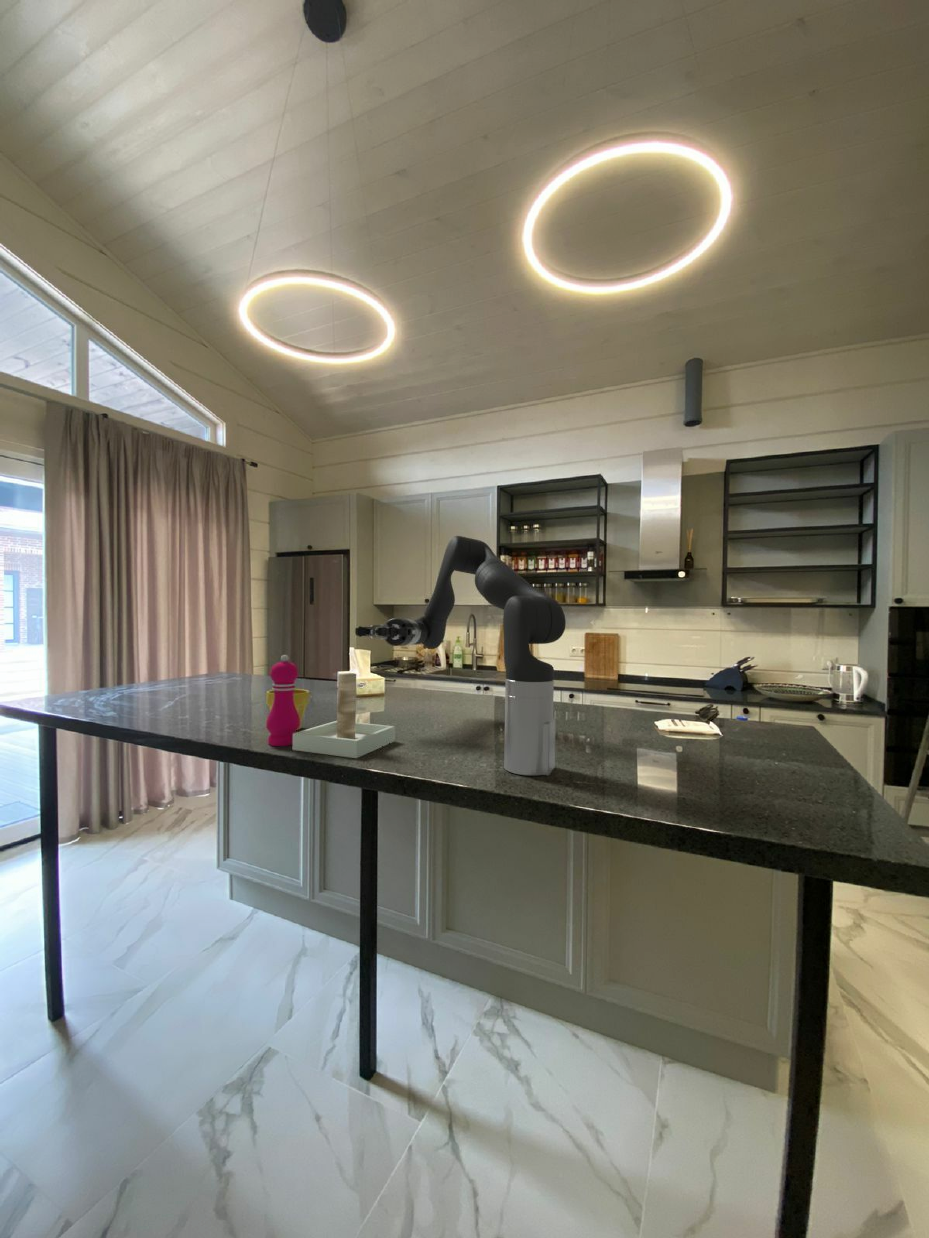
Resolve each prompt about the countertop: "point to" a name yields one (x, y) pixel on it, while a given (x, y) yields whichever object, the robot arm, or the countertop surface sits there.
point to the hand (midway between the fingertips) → (372, 631)
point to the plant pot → (299, 701)
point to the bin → (343, 739)
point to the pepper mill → (283, 704)
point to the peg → (346, 705)
